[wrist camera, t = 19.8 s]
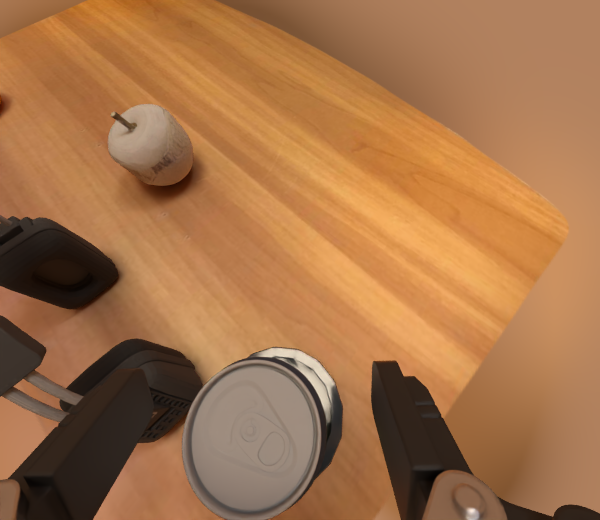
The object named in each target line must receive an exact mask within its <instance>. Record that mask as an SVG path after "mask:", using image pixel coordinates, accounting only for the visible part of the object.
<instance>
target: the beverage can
mask: <svg viewBox="0 0 600 520" xmlns="http://www.w3.org/2000/svg"><path fill="white" fill-rule="evenodd" d="M326 439H327V427H326V419H325V413H324V409H323V406H322V403H321V400H320V398H319V396H318V394H317V392H316V390H315V388H314V387H313V385H312V384H311V382H310V381H309V380H308V379H307V378H306V377H305V375H304V374H302V373H301V372H300V371H299V370H298V369H296V368H295V367H294V366H292V365H290V364H288V363H286V362H284V361H282V360H279V359H275V358H271V357H251V358H246V359H242V360H239V361H237V362H234V363H232V364H230V365H229V366H227V367H225V368H224V369H223V370H221V371H220V372H218V373H217V374H216V375H215V376H213V377H212V378H211V379H210V380H209V381H208V382H207V383H206V384H205V385H204V386H203V388H202V389H201V390H200V392H199V393H198V395H197V396H196V398H195V400H194V401H193V403H192V405H191V407H190V410H189V412H188V415H187V418H186V421H185V425H184V430H183V438H182V457H183V464H184V468H185V472H186V475H187V478H188V481H189V483H190V485H191V487H192V489H193V491H194V493H195V494H196V496H197V497H198V498H199V500H200V501H201V502H202V503H203V504H204V505H205V506H206V507H207V508H208V509H209V510H211V511H212V512H213V513H215V514H216V515H218V516H220V517H222V518H224V519H227V520H268V519H270V518H273V517H275V516H277V515H279V514H280V513H282V512H284V511H285V510H287V509H289V508H290V507H291V506H293V505H294V504H295V503H296V502H298V501H299V500H300V499H301V498H302V497H303V495H304V494H305V493H306V492H307V491H308V489H309V488H310V487H311V485H312V484H313V482H314V480H315V478H316V476H317V474H318V472H319V470H320V467H321V465H322V461H323V458H324V454H325V449H326Z"/></svg>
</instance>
